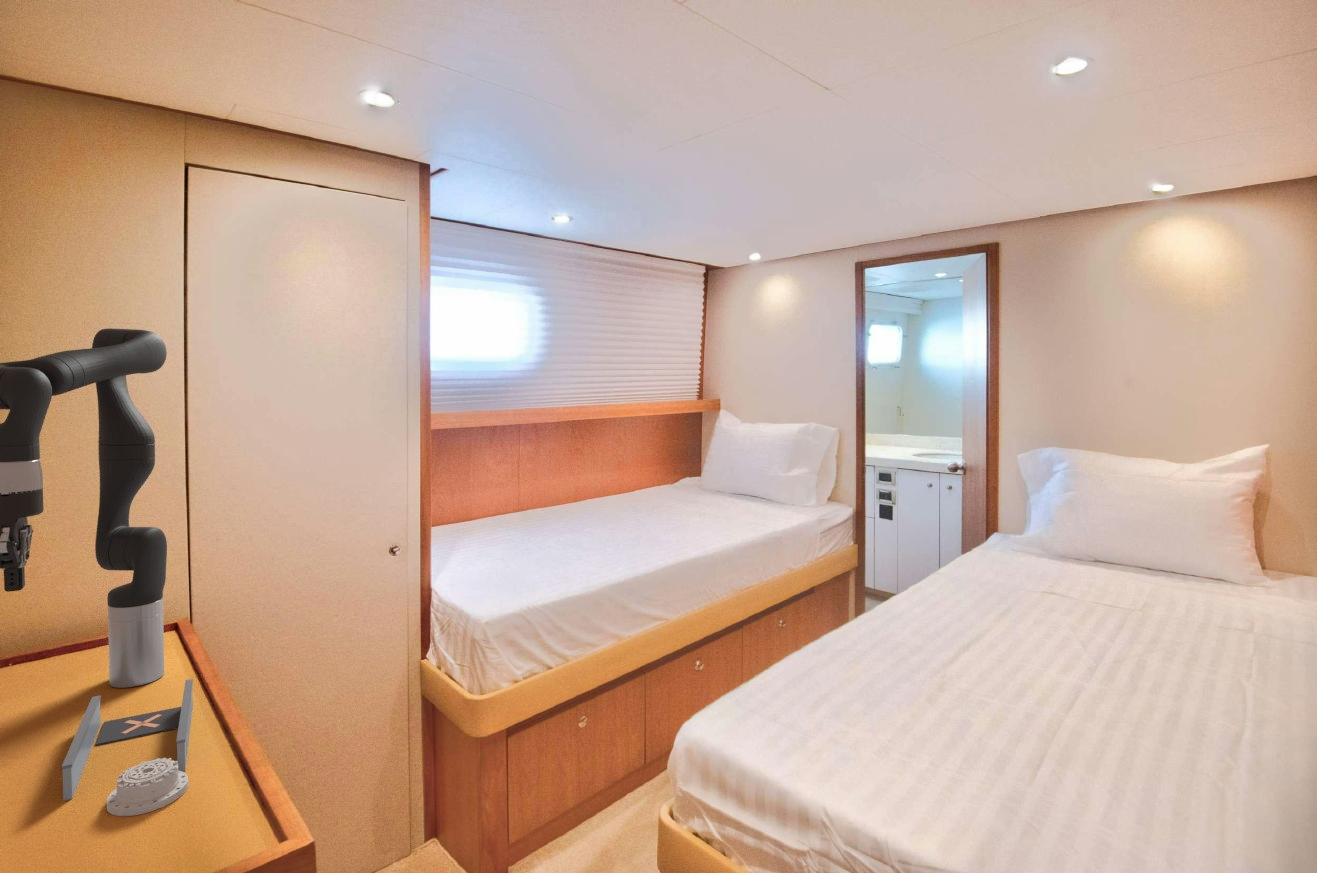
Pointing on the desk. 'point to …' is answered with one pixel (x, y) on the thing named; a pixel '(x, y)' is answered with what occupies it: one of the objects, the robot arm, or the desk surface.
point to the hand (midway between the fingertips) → (14, 589)
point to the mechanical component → (147, 788)
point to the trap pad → (139, 725)
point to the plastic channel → (89, 730)
